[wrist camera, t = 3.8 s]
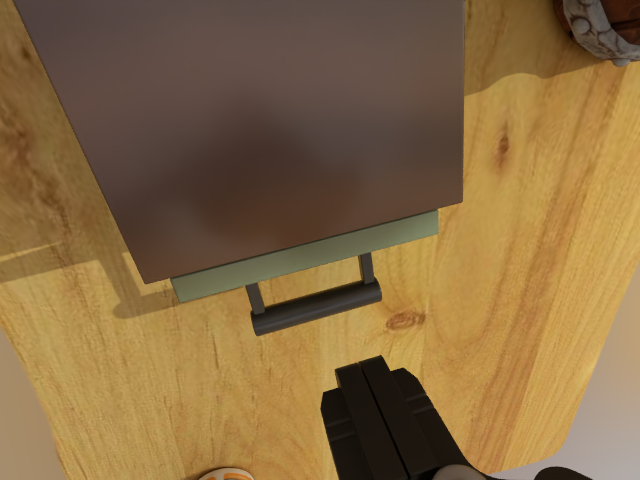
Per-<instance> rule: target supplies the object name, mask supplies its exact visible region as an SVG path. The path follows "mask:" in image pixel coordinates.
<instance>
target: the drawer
mask: <svg viewBox="0 0 640 480" xmlns="http://www.w3.org/2000/svg"><path fill="white" fill-rule="evenodd" d="M438 233H439V225H438V210H437V209H435V210H431V211H427V212H423V213H419V214H415V215H412V216H408V217H404V218H400V219H396V220H392V221H388V222H385V223H381V224H377V225H373V226H369V227H365V228H361V229H358V230H354V231H350V232H346V233H342V234H338V235H334V236H331V237H327V238H323V239H319V240H315V241H311V242H307V243H304V244H300V245H296V246H292V247H288V248H284V249H280V250H277V251H273V252H269V253H265V254H261V255H257V256H253V257H250V258H246V259H242V260H238V261H234V262H230V263H226V264H222V265H219V266H215V267H211V268H207V269H203V270H199V271H195V272H192V273H188V274H184V275H180V276H176V277H172V278H170V281H171V283H172V286H173V288H174V290H175V293H176V295H177V298H178V300H179V302H180V303H182V302H186V301H190V300H193V299H197V298H201V297H204V296H208V295H212V294H216V293H219V292H223V291H227V290H231V289H234V288H238V287H242V286H245V287H246V290H247V294H248V297H249V300H250V303H251V306H252V309H253V310H251V312H250V314H251V320H252V325H253V328H254V332H255V334H256V336H261V335H264V334H268V333H271V332H275V331H278V330H282V329H285V328H289V327H292V326H296V325H299V324H303V323H306V322H310V321H313V320H317V319H320V318H324V317H327V316H331V315H334V314H338V313H341V312H345V311H348V310H352V309H355V308H359V307H362V306H366V305H369V304H373V303H376V302H380V301H381V300H382V292H381V288H380V285H379V283H378V281H377V279H376V278H375V277H374V273H373V264H372V256H371V252H372V251H376V250H380V249H384V248H387V247H391V246H395V245H399V244H402V243H406V242H410V241H413V240H417V239H421V238H425V237H428V236H432V235H436V234H438ZM357 255H358V260H359V267H360V274H361V279H362V280H360V281H356V282H352V283H349V284H345V285H341V286H338V287H334V288H331V289H327V290H323V291H320V292H316V293H313V294H309V295H305V296H302V297H298V298H294V299H291V300H287V301H284V302H280V303H276V304H273V305H269V306H266V307H265V306H264V302H263V299H262V296H261V292H260V289H259V285H258V282H260V281H264V280H268V279H272V278H275V277H279V276H283V275H287V274H290V273H294V272H298V271H301V270H305V269H309V268H313V267H316V266H320V265H324V264H328V263H331V262H335V261H339V260H343V259H346V258H350V257H354V256H357Z"/></svg>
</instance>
